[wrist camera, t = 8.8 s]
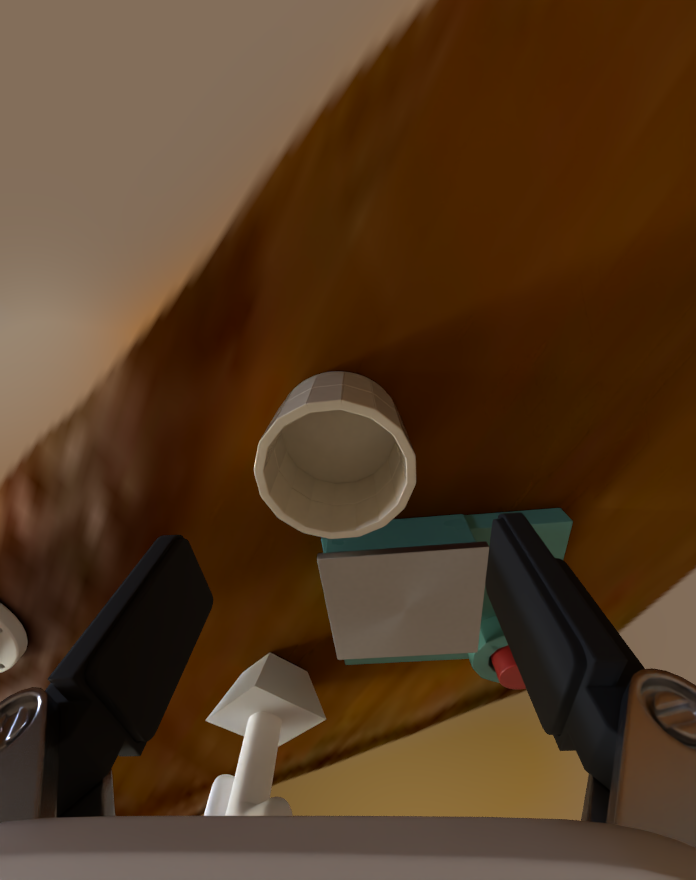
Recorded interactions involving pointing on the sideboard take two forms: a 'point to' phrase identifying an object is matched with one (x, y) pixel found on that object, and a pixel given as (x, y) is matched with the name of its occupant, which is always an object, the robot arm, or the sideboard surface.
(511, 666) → the tare button
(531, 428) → the sideboard surface
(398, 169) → the sideboard surface
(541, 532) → the scale
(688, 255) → the sideboard surface
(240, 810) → the figurine
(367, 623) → the weighing plate
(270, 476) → the cup
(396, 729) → the sideboard surface
